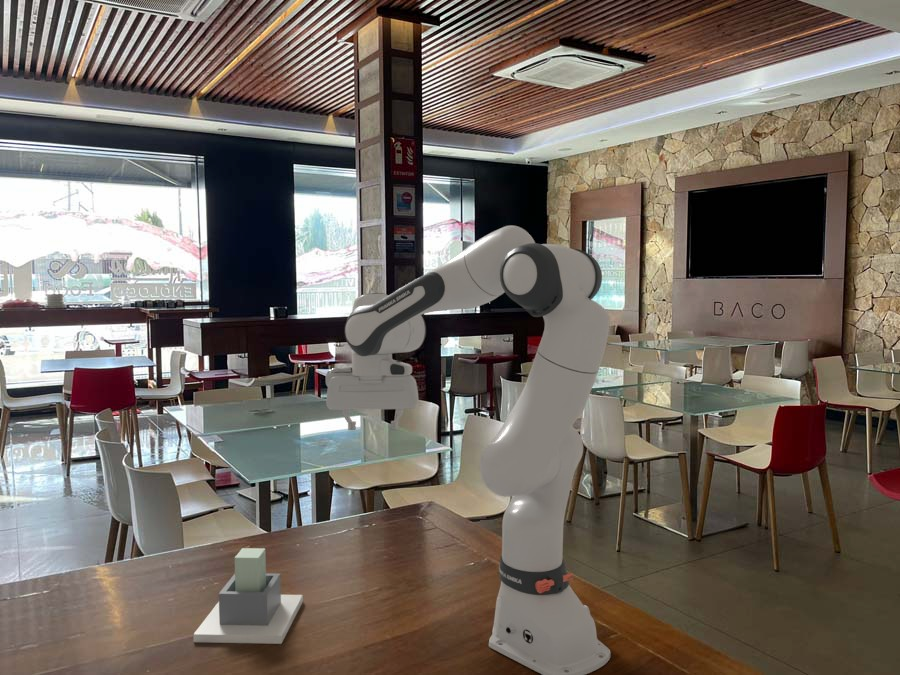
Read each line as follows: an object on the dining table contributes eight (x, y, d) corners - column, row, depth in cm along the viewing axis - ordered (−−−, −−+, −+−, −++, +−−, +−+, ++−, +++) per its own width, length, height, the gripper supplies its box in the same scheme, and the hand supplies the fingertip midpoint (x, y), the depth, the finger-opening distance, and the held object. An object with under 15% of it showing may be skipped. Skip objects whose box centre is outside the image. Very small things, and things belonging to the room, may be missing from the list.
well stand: (224, 600, 140) (223, 565, 140) (302, 602, 140) (302, 566, 139) (193, 642, 125) (192, 602, 124) (281, 643, 124) (280, 603, 123)
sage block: (243, 607, 134) (242, 548, 133) (266, 608, 134) (265, 548, 133) (236, 619, 130) (234, 557, 129) (259, 619, 130) (258, 557, 129)
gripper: (322, 368, 149) (323, 432, 149) (416, 367, 149) (417, 431, 149) (328, 367, 155) (329, 428, 156) (418, 365, 155) (419, 427, 155)
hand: (373, 429), depth 152 cm, fingers open, 8 cm apart
